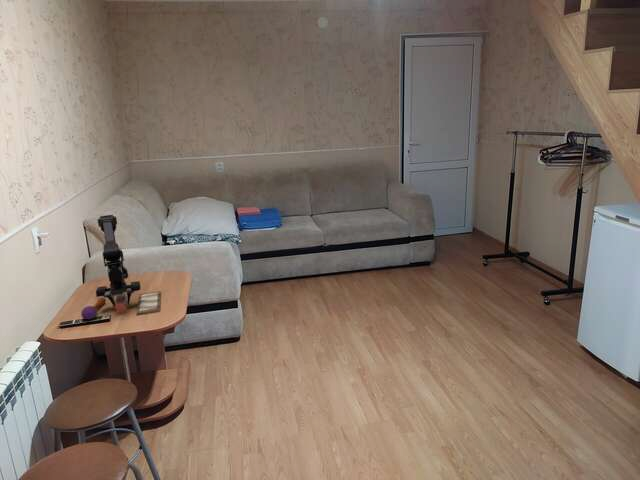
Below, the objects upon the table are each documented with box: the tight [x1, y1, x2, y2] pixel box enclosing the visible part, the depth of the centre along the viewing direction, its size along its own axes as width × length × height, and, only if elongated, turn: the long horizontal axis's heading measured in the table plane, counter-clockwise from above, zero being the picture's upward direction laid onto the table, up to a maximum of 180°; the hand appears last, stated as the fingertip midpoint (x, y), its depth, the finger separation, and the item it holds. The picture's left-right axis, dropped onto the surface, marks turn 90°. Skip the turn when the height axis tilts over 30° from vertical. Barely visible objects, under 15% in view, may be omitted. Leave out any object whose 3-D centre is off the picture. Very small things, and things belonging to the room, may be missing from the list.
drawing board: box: [136, 290, 162, 316], centre depth 220 cm, size 24×10×1 cm, turn 17°
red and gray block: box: [114, 293, 128, 314], centre depth 217 cm, size 11×4×4 cm, turn 17°
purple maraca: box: [81, 296, 107, 320], centre depth 214 cm, size 6×6×20 cm
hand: (121, 305), depth 217 cm, fingers open, 6 cm apart
